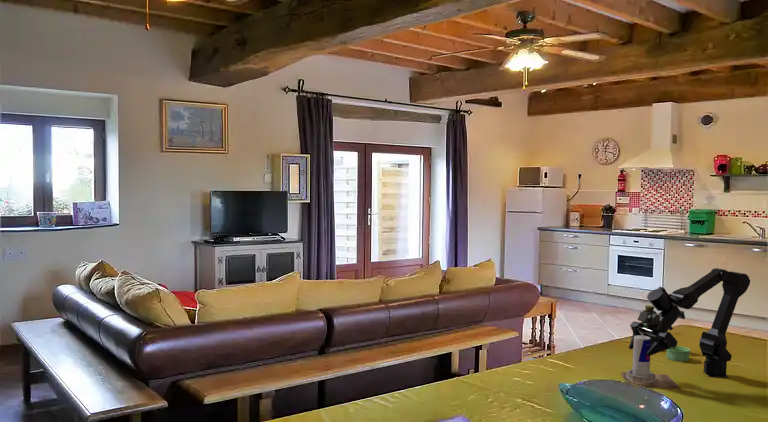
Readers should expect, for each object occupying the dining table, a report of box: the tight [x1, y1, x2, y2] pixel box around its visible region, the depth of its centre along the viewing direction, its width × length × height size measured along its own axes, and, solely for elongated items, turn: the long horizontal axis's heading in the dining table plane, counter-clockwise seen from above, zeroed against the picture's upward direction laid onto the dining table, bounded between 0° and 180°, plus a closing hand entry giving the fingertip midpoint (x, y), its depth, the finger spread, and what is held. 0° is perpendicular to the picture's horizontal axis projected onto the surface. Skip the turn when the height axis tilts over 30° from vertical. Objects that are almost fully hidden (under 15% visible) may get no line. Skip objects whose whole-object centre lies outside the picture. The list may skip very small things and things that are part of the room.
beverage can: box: [632, 335, 651, 377], centre depth 223 cm, size 6×6×15 cm
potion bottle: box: [639, 304, 658, 346], centre depth 270 cm, size 8×8×18 cm
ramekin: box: [665, 345, 691, 363], centre depth 253 cm, size 9×9×4 cm
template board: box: [620, 368, 680, 390], centre depth 223 cm, size 16×13×3 cm
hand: (638, 351), depth 222 cm, fingers open, 9 cm apart
